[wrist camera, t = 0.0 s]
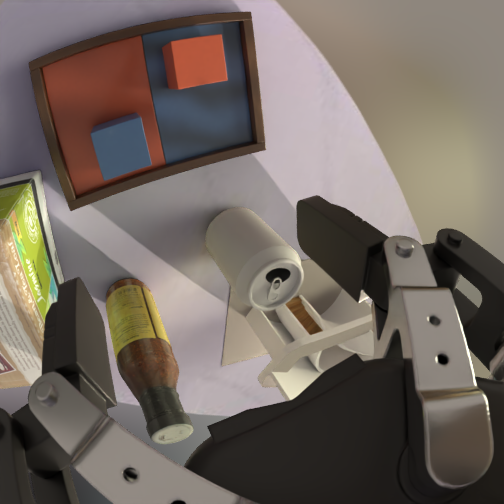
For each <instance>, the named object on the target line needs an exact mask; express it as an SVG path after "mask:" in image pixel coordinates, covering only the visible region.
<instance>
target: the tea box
mask: <svg viewBox="0 0 504 504" xmlns="http://www.w3.org/2000/svg"><path fill="white" fill-rule="evenodd" d="M61 283H64V278H63V274H62V270H61V267H60V264H59V260H58V256H57V251H56V248H55V244H54V240H53V236H52V231H51V226H50V221H49V216H48V212H47V207H46V201H45V195H44V189H43V184H42V176H41V171H40V170H38V171H33V172H29V173H24V174H21V175H17V176H13V177H8V178H4V179H0V389H3V388H12V387H20V386H29V385H32V384H33V383H34V382H35V380H36V379H37V378H39V377H40V376H41V375H42V351H43V340H44V338H43V336H44V330H45V328H44V325H45V316H46V314H47V312H48V310H49V308H50V306H51V304H52V303H54V302H57V297H58V288H59V284H61Z"/></svg>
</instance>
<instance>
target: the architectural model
mask: <svg viewBox="0 0 504 504" xmlns="http://www.w3.org/2000/svg"><path fill="white" fill-rule="evenodd" d="M301 267H302V269H303V281H302V285H301V287H300V289H299V290H298V292H297V294H296V295H295V296H294V297H293V298H292V299H291V300H290V301H289V302H287V303H286V304H285V305H283V306H281V307H279V308H277V309H274V310H269V311H260V310H257V309H255V308H253V307H252V306H248V305H246V304H244V303H242V302H241V300H240V299H239V298H238V296H237V295H236V293H235V292H234V290H233V289H232V287H231V291H230V299H229V307H228V316H227V324H226V333H225V341H224V350H223V359H222V366H225V365H229V364H233V363H237V362H240V361H244V360H248V359H252V358H255V357H259V356H262V355H266V354H269V355H270V356H271V358H272V361H271V362H270V363H269V364H268V365H267V367H266V368H265V369H264V370H263V371H262V372H261V373H260V375H259V376H258V381H259V382H260V384H261V386H262V387H278V389H279V390H280V392H281V393H282V395H283V397H284V398H285V400H286V401H289V400H292V399H294V398H295V397H297V396H298V395H299V394H300V393H301V392H302V391H303V390H305V389H306V388H307V387H308V386H309V385H310V384H311V383H312V382H313V381H314V380H315V379H317V378H318V377H319V376H320V375H321V374H322V373H323V372H324V371H326V370H328V369H329V368H331V367H333V366H335V365H336V364H338V363H340V362H341V361H343V360H345V359H347V358H348V357H350V356H352V355H353V354H355V353H357V355H358V356H359V357H360V358H361V359H362V360H363V361H366V360H371V359H373V355H374V337H373V323H372V311H371V305H370V304H369V303H368V302H367V301H366V300H364V301H362V302H360V303H357V302H356V301H355V300H354V299H353V298H352V297H351V296H350V295H349V294H348V293H347V292H346V291H345V290H344V289H343V288H342V287H341V286H340V285H338V284H337V283H336V282H335V281H334V280H333V279H332V278H331V277H330V276H329V275H328V274H327V273H326V272H325V271H324V270H323V269H322V268H320V267H319V266H318V265H317V264H316V263H315V262H314V261H313V260H312V259H308V260H302V261H301Z"/></svg>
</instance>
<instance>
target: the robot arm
mask: <svg viewBox="0 0 504 504" xmlns="http://www.w3.org/2000/svg"><path fill="white" fill-rule="evenodd" d="M297 238H298V242H299V245H300V247H301V249H302V250H303V252H304V253H305V254H307V255H308V256H309V257H310V258H311V259H312V260H313V261H314V262H315V263H316V264H317V265H318V266H319V267H320V268H322V269H323V270H324V271H325V272H326V273H327V274H328V275H329V276H330V277H331V278H332V279H333V280H334V281H335V282H336V283H337V284H338V285H340V286H341V287H342V288H343V289H344V290H345V291H346V292H347V293H348V294H349V295H350V296H351V297H352V298H353V299H354V300H355V301H356V302H357V303H360V302H362V301H364V300H365V299H367V298H369V297H370V298H371V299H372V300H373V301H372V305H371V311H372V323H373V337H374V355H373V359H371V360H366V361H363V360H362V359H361V358H360V357H359V356H358V355H357V353H355V354H353V355H352V356H350V357H348V358H347V359H345V360H343V361H341V362H340V363H338V364H336V365H335V366H333V367H331V368H329V369H328V370H326V371H324V372H323V373H322V374H321V375H320V376H319V377H318V378H317V379H315V380H314V381H313V382H312V383H311V384H310V385H309V386H308V387H307V388H306V389H305V390H303V391H302V392H301V393H300V394H299V395H298V396H297V397H295V398H294V399H292V400H289V401H286V402H281V403H277V404H273V405H268V406H263V407H259V408H254V409H249V410H245V411H243V412H241V413H239V414H236V415H234V416H231V417H229V418H227V419H224V420H222V421H219V422H217V423H214V424H212V425H209V426H207V427H208V429H209V431H210V434H211V437H209V438H208V439H207V440H205V441H204V442H203V443H202V444H201V445H200V446H198V447H197V448H196V450H195V451H194V452H193V453H192V454H191V456H190V457H189V459H188V460H187V462H186V463H185V466H184V467H183V466H181V465H179V464H178V463H176V462H175V461H173V460H171V459H170V458H168V457H166V456H165V455H163V454H162V453H160V452H159V451H157V450H156V449H154V448H153V447H151V446H150V445H148V444H147V443H145V442H144V441H142V440H141V439H139V438H138V437H137V436H135V435H134V434H132V433H131V432H130V431H128V430H127V429H125V428H124V427H123V426H122V425H120V424H119V423H118V422H116V421H115V420H114V419H112V418H111V417H110V416H108V413H107V409H108V408H111V407H114V406H117V402H116V397H115V392H114V387H113V381H112V376H111V370H110V364H109V357H108V350H107V343H106V335H105V326H104V322H103V319H102V316H101V314H100V312H99V310H98V308H97V306H96V304H95V303H94V301H93V299H92V297H91V296H90V294H89V292H88V290H87V288H86V287H85V285H84V283H83V281H82V280H81V278H79V277H77V278H74V279H72V280H69V281H66V282H64V283H61V284H59V288H58V297H57V302H54V303H52V304H51V306H50V308H49V310H48V312H47V314H46V316H45V325H44V328H45V330H44V336H43V338H44V340H43V351H42V375H41V376H40V377H39V378H37V379H36V380H35V382H34V383H33V384H32V386H31V388H30V391H29V395H28V404H26V405H25V406H24V407H22V408H21V409H20V410H18V411H17V412H15V413H13V414H12V415H10V414H9V413H7V412H6V411H5V410H3V409H1V408H0V504H36V503H37V504H80V503H79V500H78V497H77V494H76V490H75V487H74V483H73V479H72V475H71V471H70V467H69V465H70V464H72V465H73V467H74V468H75V469H76V470H77V471H78V472H79V473H80V474H81V475H82V476H83V477H84V478H85V479H86V480H87V481H88V482H89V483H90V484H92V486H94V487H95V488H96V489H97V490H98V491H99V492H100V493H101V494H103V495H104V496H105V497H106V498H107V499H108V500H110V501H111V502H112V503H113V504H504V264H503V263H502V262H501V261H500V260H498V259H497V258H496V257H494V256H493V255H492V254H490V253H489V252H488V251H487V250H485V249H484V248H483V247H481V246H480V245H478V244H477V243H476V242H474V241H473V240H472V239H470V238H469V237H467V236H466V235H465V234H463V233H462V232H460V231H457V230H454V229H441V230H439V231H438V233H437V236H436V240H435V243H431V244H425V245H421V244H420V243H419V242H418V241H416V240H414V239H412V238H410V237H406V236H392V237H390V238H389V237H388V236H386V235H385V234H383V233H382V232H380V231H379V230H378V229H376V228H375V227H373V226H372V225H370V224H369V223H367V222H366V221H363V220H362V219H361V218H360V217H358V216H355V214H354V213H352V212H350V211H349V210H347V209H346V208H344V207H341V206H337V205H334V204H331V203H329V202H328V201H326V200H325V199H323V198H321V197H320V196H317V195H316V196H312V197H309V198H306V199H303V200H300V201H298V203H297ZM461 275H462V276H463V277H464V278H466V279H467V280H468V281H469V282H470V283H472V284H473V285H474V286H475V287H476V288H477V289H478V290H479V291H480V292H481V295H482V303H481V305H480V307H479V308H478V307H477V306H476V305H475V304H474V303H472V302H471V301H470V300H469V299H468V298H467V297H466V296H465V295H464V294H462V293H461V292H460V291H459V290H458V289H457V288H456V286H457V284H458V282H459V279H460V277H461ZM468 348H469V349H470V350H471V351H472V352H473V354H474V355H475V356H476V357H477V358H478V359H479V360H480V361H481V362H482V363H483V364H484V365H485V366H486V368H487V369H488V370H489V371H490V372H491V375H490V376H489V378H488V379H485V378H480V377H475V376H474V371H473V366H472V362H471V358H470V354H469V350H468ZM28 472H30V474H31V479H32V484H33V489H34V494H35V498H36V502H35V500H34V498H33V495H32V491H31V486H30V481H29V476H28Z"/></svg>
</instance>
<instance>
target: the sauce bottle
mask: <svg viewBox="0 0 504 504" xmlns="http://www.w3.org/2000/svg"><path fill="white" fill-rule="evenodd" d="M106 300H107V301H106V311H107V317H108V322H109V328H110V334H111V339H112V344H113V348H114V353H115V358H116V362H117V366H118V370H119V373H120V375H121V377H122V378H123V380H124V381H125V383H126V384H127V386H128V387H129V389H130V390H131V392H132V393H133V395H134V396H135V397H136V399H137V400H138V402H139V403H140V406H141V407H142V410H143V413H144V416H145V419H146V422H147V427H146V428H147V431H148V434H149V436H150V438H151V440H152V441H154V442H156V443H159V444H169V443H174V442H177V441H180V440H183V439H185V438H187V437H188V436H190V434H191V433H192V432H193V425H192V422H191V420H190V418H189V416H188V415H186V413H185V412H184V410H183V407H182V405H181V402H180V400H179V394H178V393H177V392H176V385H177V380H178V375H179V368H178V365H177V362H176V360H175V358H174V355H173V353H172V347H171V345H170V342H169V340H168V337H167V335H166V332H165V329H164V327H163V324H162V321H161V319H160V316H159V313H158V310H157V307H156V305H155V302H154V299H153V296H152V294H151V292H150V290H149V289H148V287H147V286H146V285H145V284H144V283H142V282H140V281H139V280H137V279H122V280H120V281H117V282H116V283H114V284H113V285H112V286H111V287H110V289H109V290H108V292H107V295H106Z"/></svg>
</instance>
